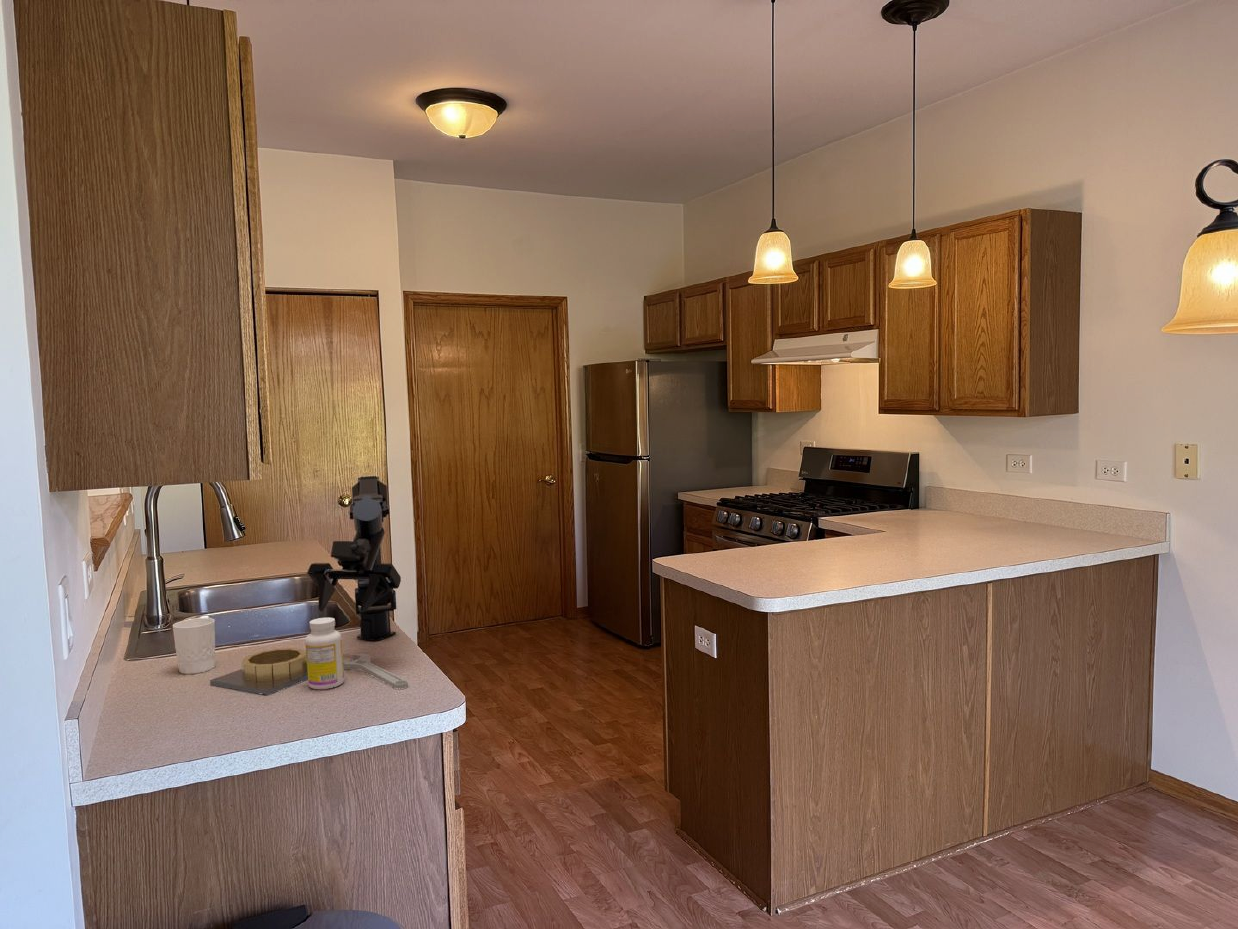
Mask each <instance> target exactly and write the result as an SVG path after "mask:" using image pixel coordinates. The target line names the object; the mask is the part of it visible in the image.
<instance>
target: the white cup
mask: <svg viewBox="0 0 1238 929" xmlns="http://www.w3.org/2000/svg"><path fill="white" fill-rule="evenodd" d="M215 622H216V621H215V619H214V618H212V617H198V618H197V617H196V618H190V619H185V620H181V621H177V622H175V623H173V624H172V632H173V639H174V647H175V652H176V659H177V664H178V666H177V667H178V672H179V673H181V674H184V675H193V674H194V675H195V674H200V673H204V672H209V671H210V670H213V669H214V668H215V667H216V662H215V661H216V658H215V654H216V628H215V627H216V625H215V624H216V623H215Z"/></svg>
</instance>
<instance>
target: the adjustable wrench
mask: <svg viewBox="0 0 1238 929" xmlns="http://www.w3.org/2000/svg"><path fill="white" fill-rule="evenodd" d="M371 658H372V657H371V655H370V654H367V653H353V654H352V659H349V658H343V670H344V669H361V670H363V671H365V672H366V673H365V672H364V673H365V674H367V673H368V674H367V675H369V674H370V675H373V676H374V677H376V678H378V679H379V680H378V679H377V680H378V681H380V680H381V681H384V682H385V683H387V684H389V685H390V686H392V687H395V688H398V689H399V688H400V689H401V688H405V687H408V688H409V681H408V679H407V680H406V679H404V678H402V677H401V676H398V675H397V674H394V673H392V672H390V671H388V670H386V669H384V668H382V667H380V666H378V665H376V664H374V663H372V660H371ZM363 671H362V672H363ZM370 675H369V676H370ZM374 677H373V678H374ZM376 678H375V679H376ZM381 681H380V682H381ZM385 683H384V684H385ZM387 684H386V685H387ZM389 685H388V686H389ZM390 686H389V687H390ZM392 687H391V688H392ZM401 690H402V689H401Z"/></svg>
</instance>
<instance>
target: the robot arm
mask: <svg viewBox="0 0 1238 929" xmlns="http://www.w3.org/2000/svg"><path fill="white" fill-rule="evenodd" d="M387 487H388V486H387V485H386V484H385V483H383V482H382V481H381V480H380V476H377V475H370V476H369V475H368V476H360V477H358V478H357V483H355V484H354V485H353V486H351V496H352V497H351V501H352V503H349V519H350V520H351V521H352V520H353V524H354V525H353V526H354V527H353V528H354V530H355V535H354V537H353V540H352V541H351V540H334V541H332V545H331V552H330V557H331V558H333V559H337V560H338V561H337V564H338V566H340V567H342V568H341V569H338V568H337V569H334V567H333V566H332V565H331V564H330V562H314V563H311V564H310V565H309V567H308V569H307V572H306V573H307V575H308V576H309V577H310V579H311V580H312V581H313V582H314V584H315V585H316V586H317V588H318V610H319V612H323V611H324V610H325V609H326V607H327V606H328V604H329V601H330V600H331V598H332V597H333V594H334V593H335V591H336V588H335V586H337V584H338V581H339V580H354V581H357V587H356V588H354V600H355V601H354V602H355V614H356V616H357V615H360V620H359V624H360V625H359V626H360V634H358V635H357V636H356V639H357V640H358V639H360V640H367V641H374V642H378V641H381V640H384V639H386V638H389V637H391V636H394V635H396V634H397V632H396V631H391V614H390V613H391V612H394V610H397V594H396V590H395V589H399V587H400V584H401V582H402V577H401V575H400V574H399V572H398V571H397V569H396V567H395V566H394V565H393V563H383V562H382V549H381V545H382V542H383V540H384V538H385V534H386V533H385V531H386V530H385V528H384V527H383V523H384V520H385V519H384V518H387V517H388V515H390V509H389V508H390V506H389V504H388V502H389V501H388V488H387Z"/></svg>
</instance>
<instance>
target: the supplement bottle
mask: <svg viewBox="0 0 1238 929" xmlns="http://www.w3.org/2000/svg"><path fill="white" fill-rule="evenodd" d="M335 626H336V620H335V618H334V617H319V618H314V619H312V620H310V621H309V628H310V630H311V631H310V633H309V634H308V635H307V636H306V637H305V641H304V643H305V651H306V656H307V671H308V680H307V681H308V682H307V684H308V686H309V688H311V689H312V690H328V689H329V688H330V689H332V688H333V687H334V688H336V687H338V686H340V685H342V684H343V683H344V681H345V674H344V673H345V672H344V671H345V670H344V668H343V659H344V657H343V656H344V655H343V646H342V645H343V643H342V635H341V633H340V631H339V630H336V629H335Z"/></svg>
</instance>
